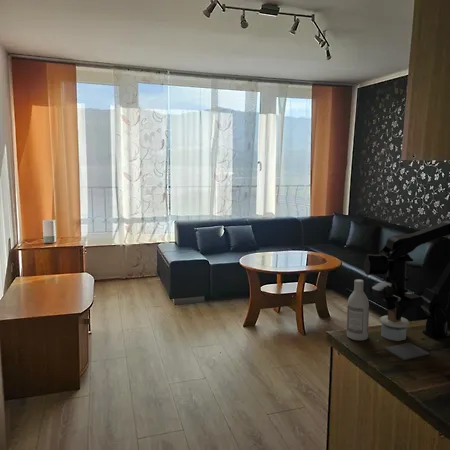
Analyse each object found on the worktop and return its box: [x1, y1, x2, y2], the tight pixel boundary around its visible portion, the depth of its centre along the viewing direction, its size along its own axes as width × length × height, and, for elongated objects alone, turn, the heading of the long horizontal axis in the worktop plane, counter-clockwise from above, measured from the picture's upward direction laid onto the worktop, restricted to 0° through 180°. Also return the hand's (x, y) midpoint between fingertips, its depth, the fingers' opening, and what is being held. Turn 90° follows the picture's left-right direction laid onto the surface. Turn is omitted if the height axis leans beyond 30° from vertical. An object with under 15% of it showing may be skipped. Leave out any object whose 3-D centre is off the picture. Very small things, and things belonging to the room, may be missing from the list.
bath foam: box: [346, 278, 370, 342], centre depth 137 cm, size 7×7×20 cm
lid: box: [379, 307, 410, 328], centre depth 138 cm, size 9×9×4 cm
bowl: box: [380, 323, 407, 342], centre depth 138 cm, size 8×8×4 cm
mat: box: [384, 342, 430, 361], centre depth 127 cm, size 10×8×1 cm
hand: (394, 318), depth 138 cm, fingers closed on lid, 3 cm apart
